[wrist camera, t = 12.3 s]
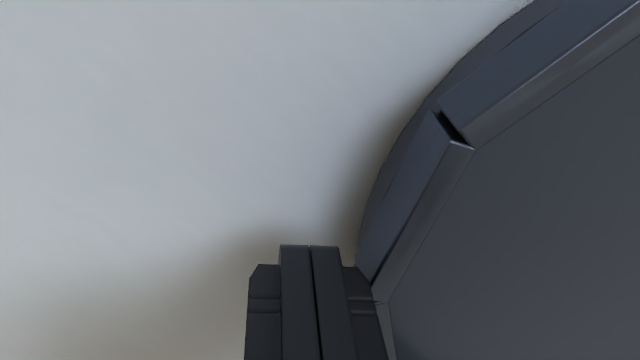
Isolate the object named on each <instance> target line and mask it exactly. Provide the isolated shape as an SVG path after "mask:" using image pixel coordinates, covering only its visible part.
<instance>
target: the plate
mask: <svg viewBox="0 0 640 360" xmlns="http://www.w3.org/2000/svg"><path fill="white" fill-rule="evenodd" d="M355 261H356V264H354V267H358V268H359V269H360V270H361V272H362V273H363V274H364V275H365V277H366V278H367V279H368V280H369V282H370V286H371V290H372V294H373V301H374V302H375V306H376V310H377V315H378V318H379V322H380V326H381V330H382V334H383V338H384V342H385V346H386V350H387V354H388V358H389V360H640V0H536V1H534V2H533V3H532V4H530V5H529V6H527V7H526V8H524V9H523V10H521V11H520V12H519V13H517V14H516V15H514V16H513V17H511V18H510V19H509V20H507V21H506V22H504V23H503V24H502V25H501V26H500V27H499V28H497V29H496V30H495V31H494V32H493V33H492V34H490V35H489V36H488V37H487V38H486V39H485V40H484V41H482V42H481V43H480V44H479V45H478V46H477V47H476V48H474V49H473V50H472V51H471V52H470V53H469V54H467V55H466V56H465V57H464V58H463V59H462V60H461V61H460V62H459V63H458V64H457V65H456V67H455V68H454V69H453V70H452V71H451V72H450V73H449V74H448V75H447V76H446V77H445V78H444V79H443V81H442V82H441V83H440V84H439V85H438V86H437V87H436V88H435V89H434V90H433V91H432V92H431V94H430V95H429V96H428V97H427V98H426V100H425V101H424V102H423V104H422V105H421V107H420V108H419V109H418V111H417V112H416V113H415V115H414V116H413V117H412V119H411V120H410V122H409V123H408V124H407V126H406V127H405V128H404V130H403V131H402V132H401V134H400V136H399V138H398V139H397V141H396V143H395V145H394V146H393V148H392V150H391V152H390V154H389V155H388V157H387V159H386V161H385V162H384V164H383V166H382V168H381V170H380V172H379V174H378V177H377V179H376V182H375V184H374V187H373V189H372V192H371V194H370V197H369V199H368V202H367V204H366V208H365V212H364V216H363V220H362V224H361V229H360V233H359V237H358V247H357V253H356V255H355Z"/></svg>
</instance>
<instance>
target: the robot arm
mask: <svg viewBox="0 0 640 360" xmlns="http://www.w3.org/2000/svg"><path fill="white" fill-rule="evenodd" d="M244 360H389V358H388V354H387V350H386V346H385V342H384V338H383V334H382V330H381V326H380V322H379V318H378V315H377V310H376V306H375V302H374V301H373V294H372V290H371V286H370V282H369V280H368V279H367V278H366V277H365V275H364V274H363V273H362V272H361V270H360V269H359V268H358V267H342V262H341V257H340V252H339V248H338V246H314V245H310V246H308V245H283V244H280V248H279V258H278V265H271V264H258V266H257V267H256V269H255V270H254V272H253V273H252V275H251V277H250V278H249V290H248V306H247V321H246V337H245V353H244Z"/></svg>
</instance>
